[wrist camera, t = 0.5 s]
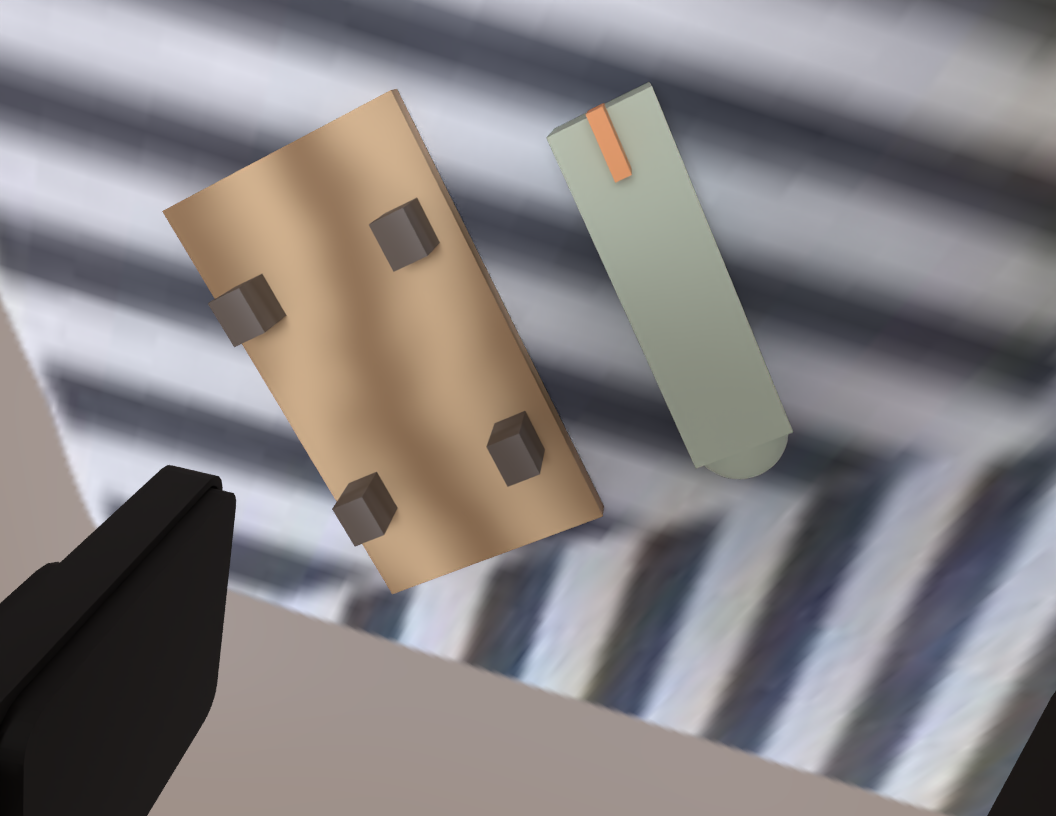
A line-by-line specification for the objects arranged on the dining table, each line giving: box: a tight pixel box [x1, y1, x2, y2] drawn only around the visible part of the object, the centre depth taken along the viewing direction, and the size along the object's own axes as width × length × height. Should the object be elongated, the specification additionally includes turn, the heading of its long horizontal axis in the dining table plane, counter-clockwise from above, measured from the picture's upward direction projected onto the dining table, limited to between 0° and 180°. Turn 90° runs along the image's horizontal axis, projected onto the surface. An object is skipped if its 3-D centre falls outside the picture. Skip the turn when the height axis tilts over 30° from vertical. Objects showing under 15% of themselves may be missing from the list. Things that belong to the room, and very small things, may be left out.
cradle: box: [162, 89, 604, 594], centre depth 38 cm, size 11×20×4 cm, turn 26°
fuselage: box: [547, 82, 793, 479], centre depth 35 cm, size 4×16×6 cm, turn 26°
